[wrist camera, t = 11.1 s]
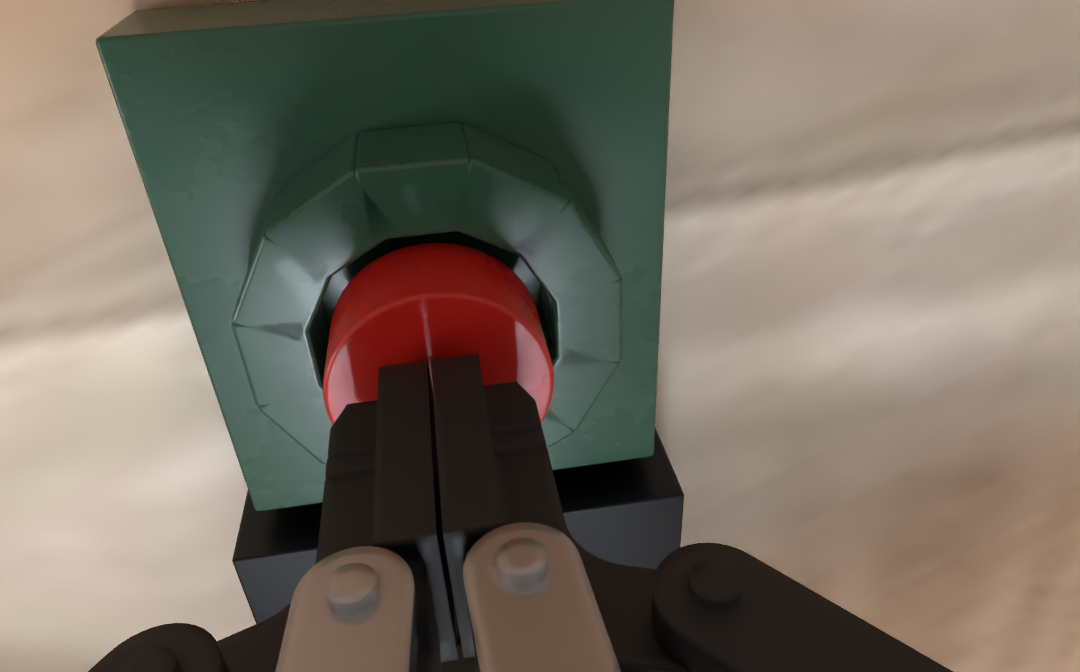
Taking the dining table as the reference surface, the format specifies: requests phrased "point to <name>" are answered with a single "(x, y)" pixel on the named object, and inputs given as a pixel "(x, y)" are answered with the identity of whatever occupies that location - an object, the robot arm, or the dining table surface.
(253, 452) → the switchbox
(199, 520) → the dining table surface
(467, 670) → the dial
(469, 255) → the button
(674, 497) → the panel
